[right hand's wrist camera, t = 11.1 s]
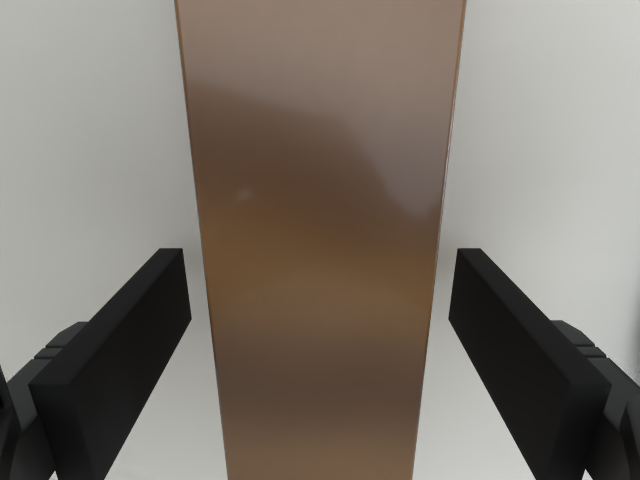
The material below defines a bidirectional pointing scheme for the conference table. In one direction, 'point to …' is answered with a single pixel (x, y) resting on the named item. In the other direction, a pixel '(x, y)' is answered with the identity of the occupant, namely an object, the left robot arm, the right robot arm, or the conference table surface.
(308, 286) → the post
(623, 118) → the conference table surface
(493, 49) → the conference table surface
